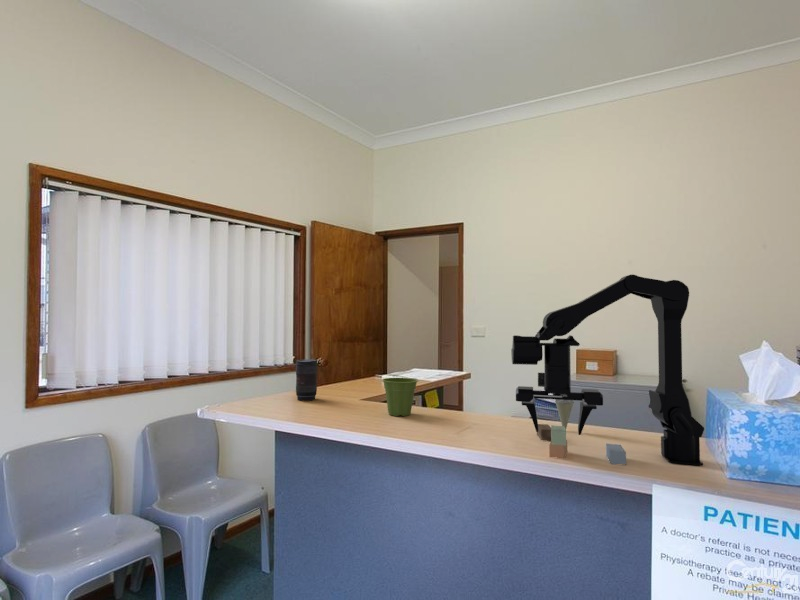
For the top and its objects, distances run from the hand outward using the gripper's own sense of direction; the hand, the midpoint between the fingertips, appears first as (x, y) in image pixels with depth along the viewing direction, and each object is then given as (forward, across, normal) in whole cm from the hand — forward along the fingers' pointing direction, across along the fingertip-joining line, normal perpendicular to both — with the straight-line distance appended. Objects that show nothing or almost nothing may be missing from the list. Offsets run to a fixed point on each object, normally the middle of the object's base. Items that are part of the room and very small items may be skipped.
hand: (558, 433), depth 106 cm
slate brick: (+5, -12, +1) cm, 13 cm away
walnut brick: (+5, +2, -15) cm, 16 cm away
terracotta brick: (+5, 0, 0) cm, 5 cm away
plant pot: (+5, +47, -32) cm, 57 cm away
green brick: (+2, 0, 0) cm, 2 cm away
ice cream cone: (+5, -3, -24) cm, 25 cm away
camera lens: (+5, +89, -48) cm, 101 cm away
